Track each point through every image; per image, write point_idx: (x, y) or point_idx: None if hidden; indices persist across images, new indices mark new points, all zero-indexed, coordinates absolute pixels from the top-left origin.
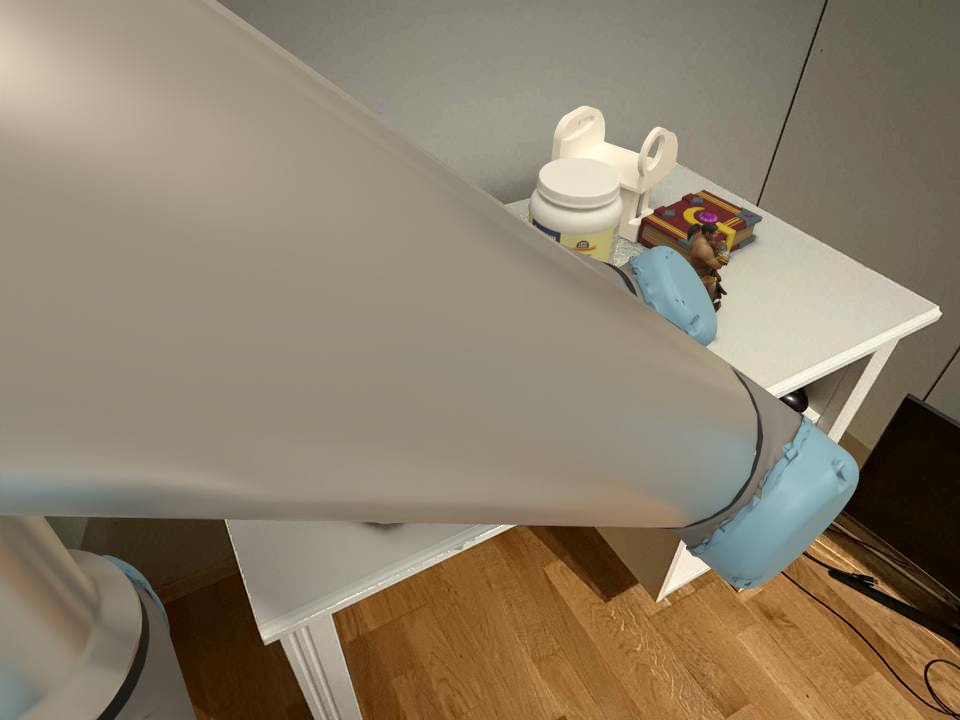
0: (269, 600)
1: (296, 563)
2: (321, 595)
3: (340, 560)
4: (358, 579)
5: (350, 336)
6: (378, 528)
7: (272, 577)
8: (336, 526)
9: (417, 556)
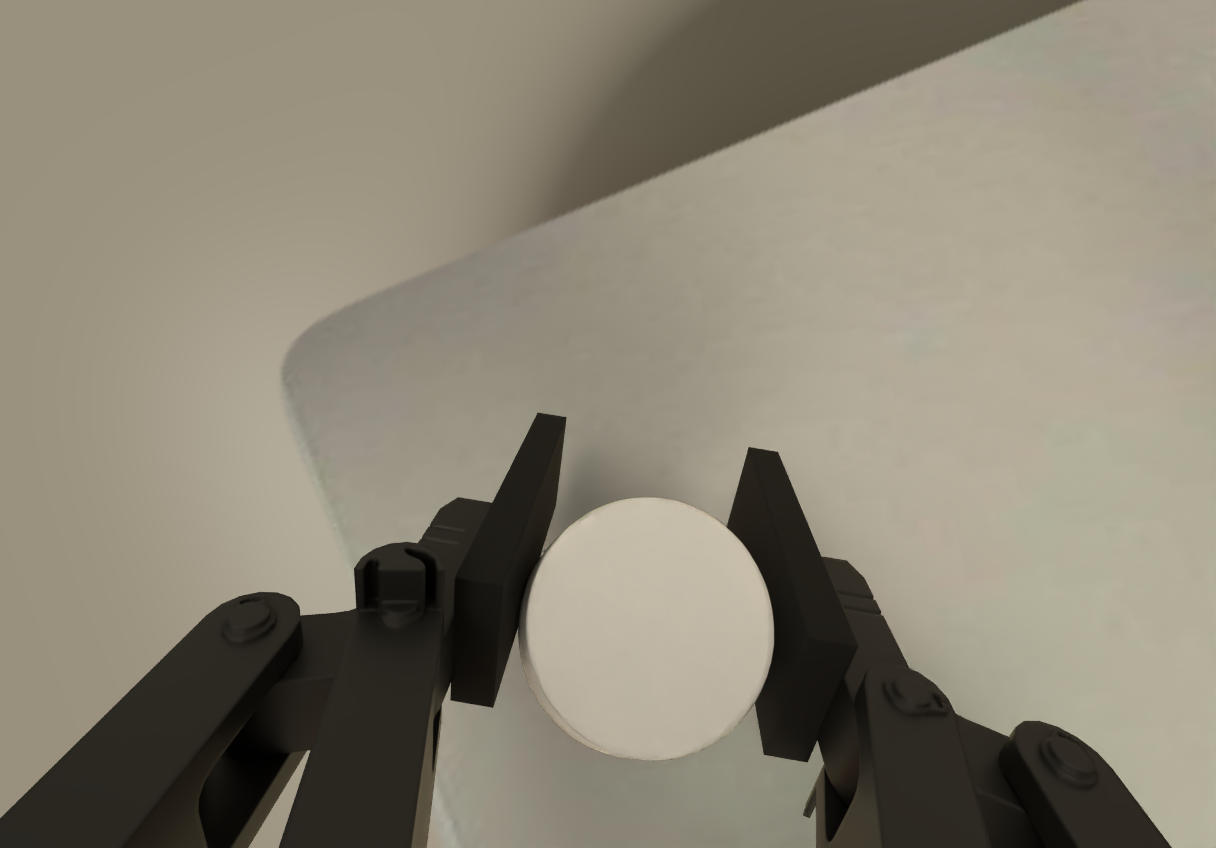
0: (328, 335)
1: (428, 380)
2: (319, 462)
3: (424, 499)
4: (353, 563)
5: None
6: None
7: (393, 330)
8: None
9: None
